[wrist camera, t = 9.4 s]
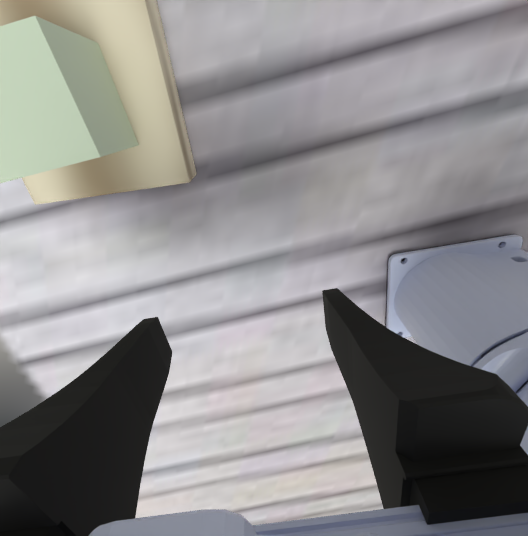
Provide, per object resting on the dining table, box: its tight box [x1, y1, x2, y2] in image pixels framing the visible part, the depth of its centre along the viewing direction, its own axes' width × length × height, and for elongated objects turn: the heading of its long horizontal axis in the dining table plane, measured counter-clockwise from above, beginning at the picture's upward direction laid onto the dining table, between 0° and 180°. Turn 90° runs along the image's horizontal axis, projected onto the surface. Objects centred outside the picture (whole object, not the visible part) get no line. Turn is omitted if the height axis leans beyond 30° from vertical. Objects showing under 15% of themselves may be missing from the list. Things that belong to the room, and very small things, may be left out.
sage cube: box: [0, 16, 139, 183], centre depth 13 cm, size 4×4×4 cm
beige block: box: [0, 0, 197, 205], centre depth 16 cm, size 9×9×3 cm
